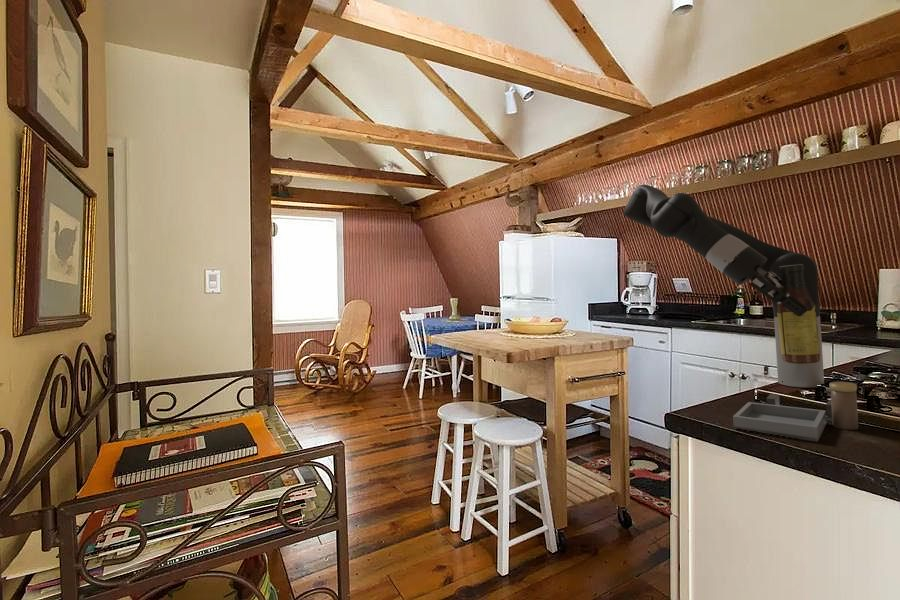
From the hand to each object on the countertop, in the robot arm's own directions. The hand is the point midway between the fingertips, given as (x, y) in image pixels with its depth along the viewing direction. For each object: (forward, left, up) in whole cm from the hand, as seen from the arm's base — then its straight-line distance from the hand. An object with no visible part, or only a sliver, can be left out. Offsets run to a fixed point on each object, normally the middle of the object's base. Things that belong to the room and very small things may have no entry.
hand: (806, 311), depth 89 cm
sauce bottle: (0, -2, -11) cm, 11 cm away
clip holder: (0, -2, -21) cm, 21 cm away
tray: (+10, -4, -21) cm, 24 cm away
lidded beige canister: (+5, +5, -21) cm, 22 cm away
